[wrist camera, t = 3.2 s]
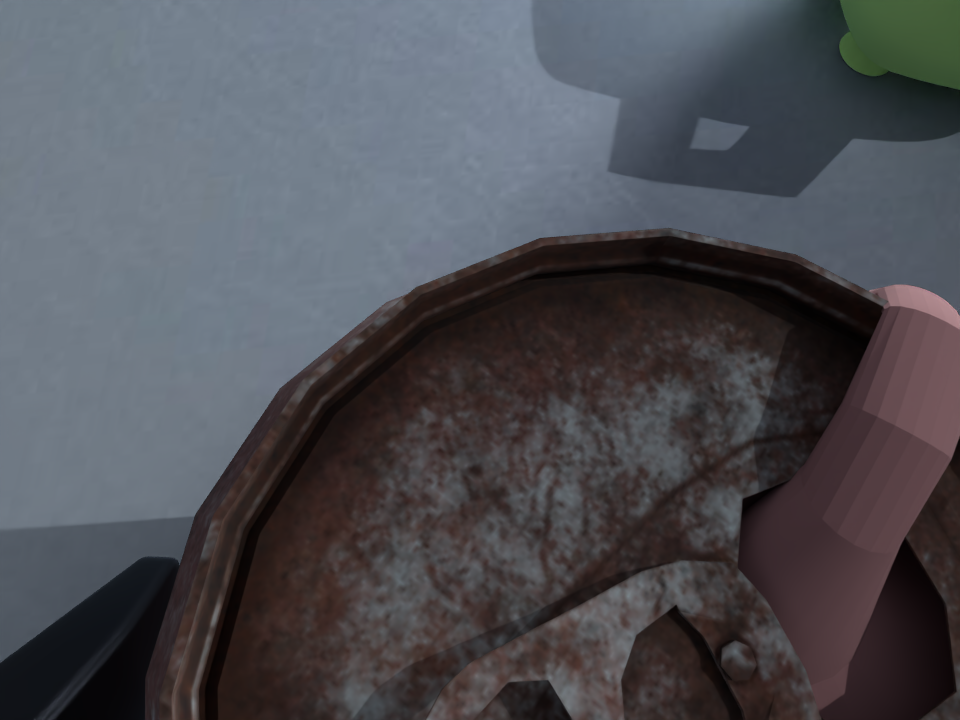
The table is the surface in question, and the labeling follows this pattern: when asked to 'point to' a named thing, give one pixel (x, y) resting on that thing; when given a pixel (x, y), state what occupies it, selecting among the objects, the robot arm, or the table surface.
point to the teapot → (904, 39)
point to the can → (592, 503)
